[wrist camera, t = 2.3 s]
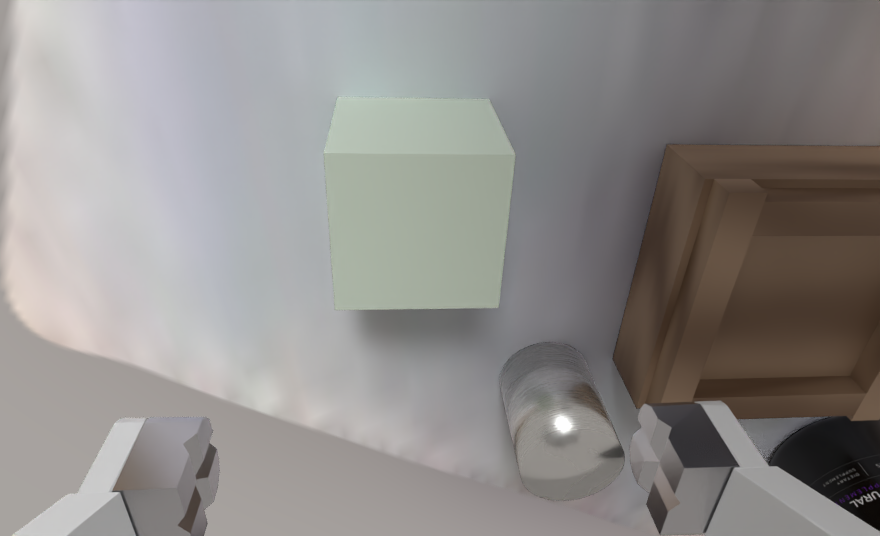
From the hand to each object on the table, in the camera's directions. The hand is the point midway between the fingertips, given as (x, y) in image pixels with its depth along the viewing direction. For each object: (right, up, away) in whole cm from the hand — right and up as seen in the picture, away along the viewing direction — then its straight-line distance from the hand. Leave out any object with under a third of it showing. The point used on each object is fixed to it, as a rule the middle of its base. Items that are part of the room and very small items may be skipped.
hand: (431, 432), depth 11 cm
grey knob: (+5, -2, +15) cm, 16 cm away
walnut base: (+13, +3, +13) cm, 19 cm away
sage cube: (-1, +7, +10) cm, 12 cm away
